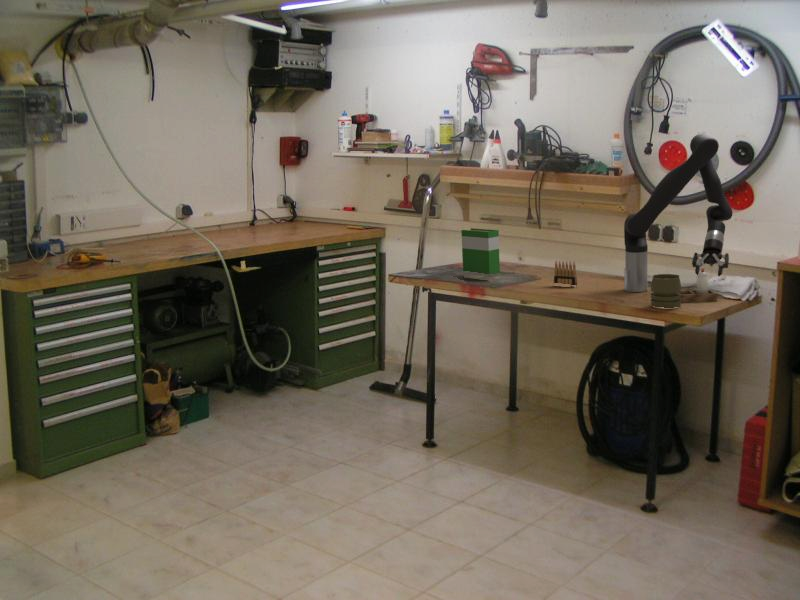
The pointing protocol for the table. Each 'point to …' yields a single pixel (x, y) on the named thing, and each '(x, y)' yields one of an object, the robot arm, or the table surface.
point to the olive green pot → (666, 291)
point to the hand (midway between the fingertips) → (708, 274)
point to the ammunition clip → (565, 273)
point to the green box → (481, 251)
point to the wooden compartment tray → (697, 296)
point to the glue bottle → (702, 282)
